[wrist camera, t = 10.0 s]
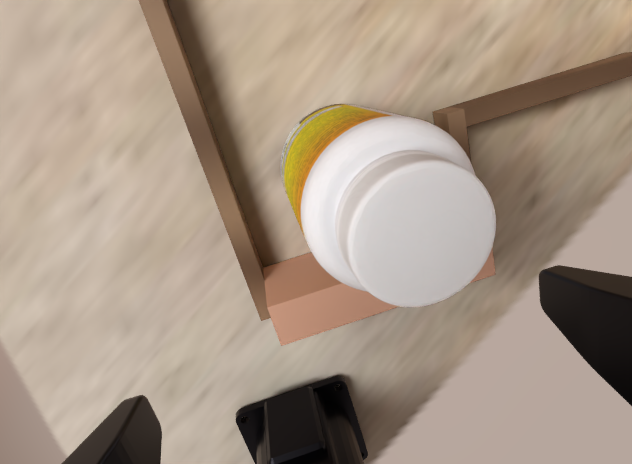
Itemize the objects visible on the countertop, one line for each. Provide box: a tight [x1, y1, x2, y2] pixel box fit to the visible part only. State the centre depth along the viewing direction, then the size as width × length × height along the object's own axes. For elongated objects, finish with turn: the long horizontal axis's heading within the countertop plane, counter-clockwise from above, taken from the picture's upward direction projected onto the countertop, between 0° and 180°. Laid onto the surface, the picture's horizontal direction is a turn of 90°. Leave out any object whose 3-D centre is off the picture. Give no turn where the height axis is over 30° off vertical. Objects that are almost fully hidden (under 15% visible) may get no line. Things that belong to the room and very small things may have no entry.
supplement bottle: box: [281, 104, 496, 307], centre depth 15 cm, size 6×6×10 cm
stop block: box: [263, 249, 495, 346], centre depth 20 cm, size 2×10×4 cm, turn 105°
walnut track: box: [139, 0, 632, 321], centre depth 18 cm, size 18×21×2 cm
